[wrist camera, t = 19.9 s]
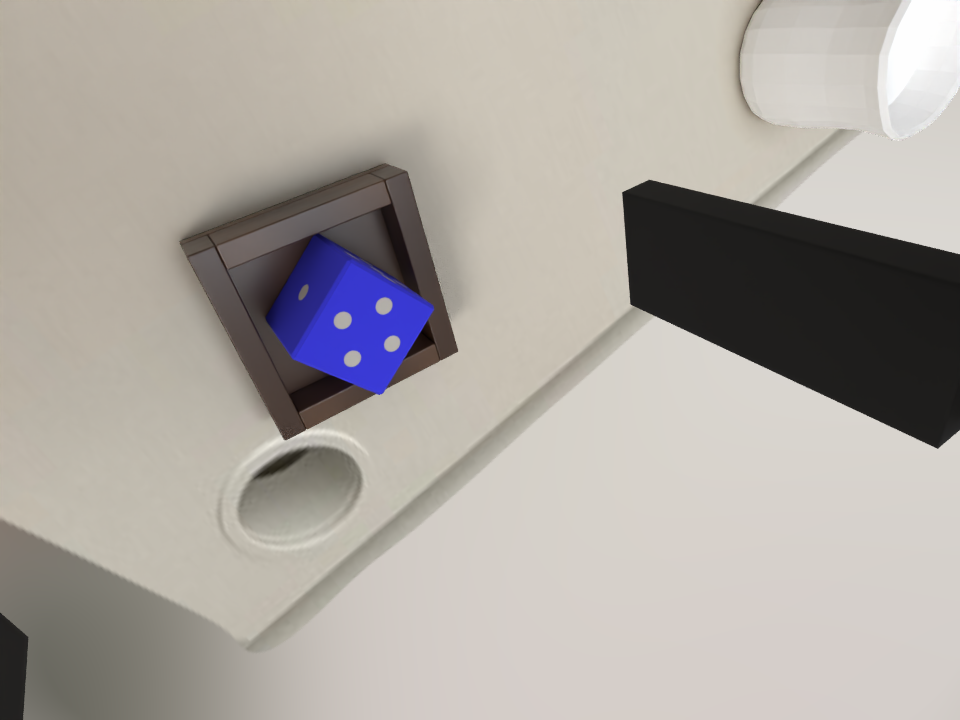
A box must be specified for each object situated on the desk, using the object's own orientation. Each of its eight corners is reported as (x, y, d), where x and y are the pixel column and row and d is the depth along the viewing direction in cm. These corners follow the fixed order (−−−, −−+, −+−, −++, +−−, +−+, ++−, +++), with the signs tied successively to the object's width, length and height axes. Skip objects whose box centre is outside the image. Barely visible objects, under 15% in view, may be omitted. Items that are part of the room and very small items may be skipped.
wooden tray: (272, 417, 33) (285, 441, 31) (178, 241, 27) (186, 256, 25) (437, 335, 36) (459, 351, 34) (386, 162, 30) (407, 170, 28)
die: (314, 231, 29) (350, 258, 25) (394, 277, 32) (437, 307, 28) (263, 319, 30) (290, 359, 26) (347, 356, 33) (382, 397, 29)
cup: (711, 77, 39) (861, 83, 31) (794, -76, 37) (972, -107, 30) (774, 150, 45) (913, 170, 37) (848, 21, 43) (1008, 15, 36)
